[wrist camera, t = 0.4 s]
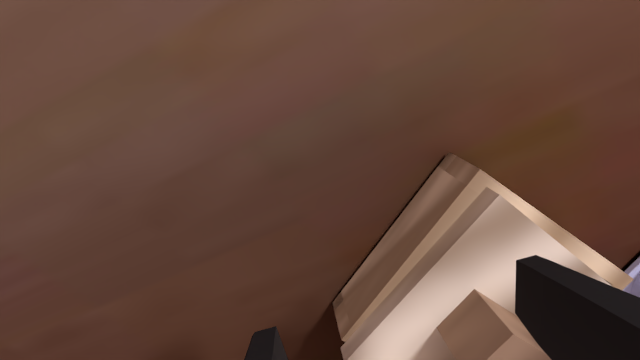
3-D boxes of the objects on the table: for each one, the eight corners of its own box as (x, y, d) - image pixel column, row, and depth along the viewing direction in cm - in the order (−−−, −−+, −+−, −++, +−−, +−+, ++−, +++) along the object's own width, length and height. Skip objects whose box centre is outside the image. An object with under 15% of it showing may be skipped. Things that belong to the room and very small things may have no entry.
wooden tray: (589, 251, 23) (633, 279, 20) (477, 366, 25) (502, 404, 23) (449, 152, 18) (480, 169, 16) (332, 302, 21) (341, 340, 18)
